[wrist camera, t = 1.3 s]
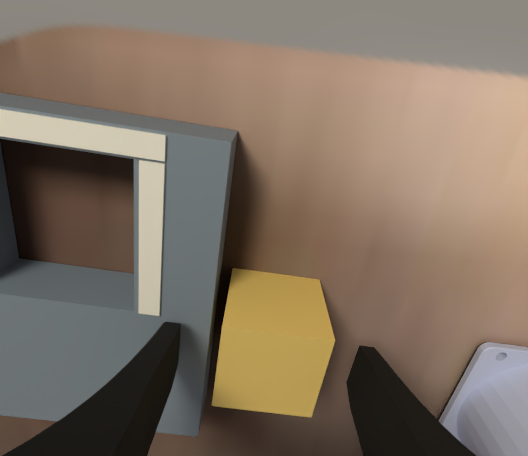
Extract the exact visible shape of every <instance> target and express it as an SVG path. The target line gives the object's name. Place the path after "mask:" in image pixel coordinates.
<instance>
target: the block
mask: <svg viewBox="0 0 528 456" xmlns="http://www.w3.org/2000/svg"><path fill="white" fill-rule="evenodd" d="M334 343H335V338H334V334H333V330H332V326H331V323H330V319H329V315H328V311H327V307H326V303H325V299H324V296H323V292H322V288H321V284H320V280H318V279H310V278H303V277H296V276H289V275H281V274H274V273H267V272H260V271H253V270H245V269H238V268H233V269H232V275H231V280H230V286H229V291H228V297H227V302H226V307H225V313H224V318H223V324H222V331H221V338H220V346H219V353H218V361H217V369H216V376H215V384H214V392H213V399H212V406H216V407H225V408H233V409H242V410H251V411H259V412H268V413H277V414H285V415H294V416H303V417H312V414H313V410H314V407H315V404H316V401H317V398H318V394H319V391H320V388H321V385H322V382H323V378H324V375H325V372H326V369H327V366H328V362H329V359H330V356H331V353H332V350H333V346H334Z"/></svg>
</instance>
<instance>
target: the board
mask: <svg viewBox="0 0 528 456" xmlns="http://www.w3.org/2000/svg"><path fill="white" fill-rule="evenodd" d="M237 134H238V131H235V130H229V129H223V128H217V127H211V126H204V125H198V124H192V123H186V122H179V121H173V120H167V119H161V118H155V117H148V116H142V115H136V114H130V113H123V112H117V111H111V110H105V109H99V108H92V107H86V106H80V105H74V104H67V103H61V102H55V101H49V100H43V99H36V98H30V97H24V96H18V95H11V94H5V93H0V139H6V140H13V141H19V142H26V143H32V144H39V145H45V146H52V147H58V148H65V149H72V150H78V151H85V152H91V153H98V154H104V155H111V156H117V157H124V158H130V159H134V274H132V273H125V272H117V271H110V270H102V269H95V268H88V267H80V266H73V265H65V264H58V263H51V262H43V261H36V260H28V259H21V258H19V254H18V248H17V241H16V235H15V229H14V223H13V217H12V211H11V205H10V198H9V192H8V186H7V180H6V174H5V168H4V162H3V156H2V149H1V143H0V415H4V416H13V417H23V418H32V419H41V420H50V421H59V420H60V419H62V418H63V417H65V416H66V415H67V414H69V413H70V412H72V411H73V410H74V409H76V408H77V407H78V406H79V405H81V404H82V403H83V402H85V401H86V400H87V399H89V398H90V397H91V396H92V395H93V394H95V393H96V392H97V391H98V390H100V389H101V388H102V387H103V386H104V385H105V384H106V383H108V382H109V381H110V380H111V379H112V378H113V377H114V376H115V375H116V374H117V373H118V372H119V371H120V370H121V369H122V368H123V367H125V366H126V365H127V364H128V363H129V362H130V361H131V360H132V359H133V357H134V356H135V355H136V354H137V353H138V352H139V351H140V350H141V349H142V348H143V347H144V346H145V344H146V343H147V342H148V341H149V340H150V339H151V338H152V336H153V335H154V334H155V333H156V331H157V330H158V329H159V328H160V326H161V325H162V324H163V323H164V322H173V323H181V332H180V347H179V362H178V366H177V370H176V374H175V378H174V382H173V386H172V389H171V392H170V395H169V397H168V400H167V403H166V405H165V408H164V411H163V413H162V416H161V419H160V421H159V424H158V427H157V429H156V432H159V433H168V434H177V435H186V436H195V437H198V434H199V429H200V424H201V419H202V413H203V408H204V403H205V398H206V393H207V385H208V377H209V368H210V360H211V351H212V343H213V335H214V326H215V318H216V310H217V301H218V293H219V285H220V276H221V268H222V259H223V251H224V243H225V234H226V226H227V218H228V209H229V201H230V193H231V184H232V176H233V168H234V159H235V151H236V142H237Z"/></svg>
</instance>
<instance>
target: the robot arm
mask: <svg viewBox="0 0 528 456" xmlns="http://www.w3.org/2000/svg"><path fill="white" fill-rule="evenodd" d="M180 332H181V323H173V322H164V323H163V324H162V325H161V326H160V328H159V329H158V330H157V331H156V333H155V334H154V335H153V336H152V338H151V339H150V340H149V341H148V342H147V343H146V344H145V346H144V347H143V348H142V349H141V350H140V351H139V352H138V353H137V354H136V355H135V356H134V357H133V359H132V360H131V361H130V362H129V363H128V364H127V365H126V366H125V367H123V368H122V369H121V370H120V371H119V372H118V373H117V374H116V375H115V376H114V377H113V378H112V379H111V380H110V381H109V382H108V383H106V384H105V385H104V386H103V387H102V388H101V389H100V390H98V391H97V392H96V393H95V394H93V395H92V396H91V397H90V398H89V399H87V400H86V401H85V402H83V403H82V404H81V405H79V406H78V407H77V408H76V409H74V410H73V411H72V412H70V413H69V414H67V415H66V416H65V417H63V418H62V419H60V420H59V421H57V422H56V423H54V424H53V425H51V426H50V427H48V428H47V429H45V430H44V431H42V432H41V433H39V434H38V435H36V436H35V437H33V438H32V439H30V440H28V441H27V442H25V443H23V444H22V445H20V446H18V447H16V448H15V449H13V450H11V451H9V452H8V453H6V454H4V455H3V456H147V454H148V451H149V448H150V445H151V443H152V440H153V437H154V435H155V432H156V429H157V427H158V424H159V421H160V419H161V416H162V413H163V411H164V408H165V405H166V403H167V400H168V397H169V395H170V392H171V389H172V386H173V382H174V378H175V374H176V370H177V366H178V362H179V347H180ZM347 389H348V396H349V402H350V408H351V412H352V416H353V419H354V423H355V427H356V430H357V434H358V437H359V441H360V445H361V448H362V452H363V455H364V456H528V347H523V346H515V345H508V344H500V343H492V342H487V343H484V344H482V345H480V346H479V347H478V349H477V351H476V352H475V354H474V356H473V358H472V360H471V362H470V364H469V365H468V367H467V369H466V371H465V373H464V375H463V376H462V378H461V380H460V382H459V384H458V386H457V388H456V389H455V391H454V393H453V395H452V397H451V399H450V400H449V402H448V404H447V406H446V408H445V410H444V412H443V413H442V415H441V417H440V419H439V421H438V420H437V419H436V418H435V417H434V416H433V415H432V414H431V413H430V412H429V411H428V410H427V409H426V408H425V407H424V406H423V404H422V403H421V402H420V401H419V400H418V399H417V398H416V397H415V396H414V395H413V393H412V392H411V391H410V390H409V389H408V388H407V386H406V385H405V384H404V383H403V382H402V381H401V379H400V378H399V377H398V376H397V375H396V373H395V372H394V371H393V370H392V369H391V367H390V366H389V365H388V364H387V362H386V361H385V360H384V359H383V357H382V356H381V355H380V354H379V353H378V351H377V350H376V349H375V348H374V347H366V346H359V348H358V351H357V354H356V357H355V360H354V363H353V365H352V368H351V371H350V374H349V377H348V380H347Z"/></svg>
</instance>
